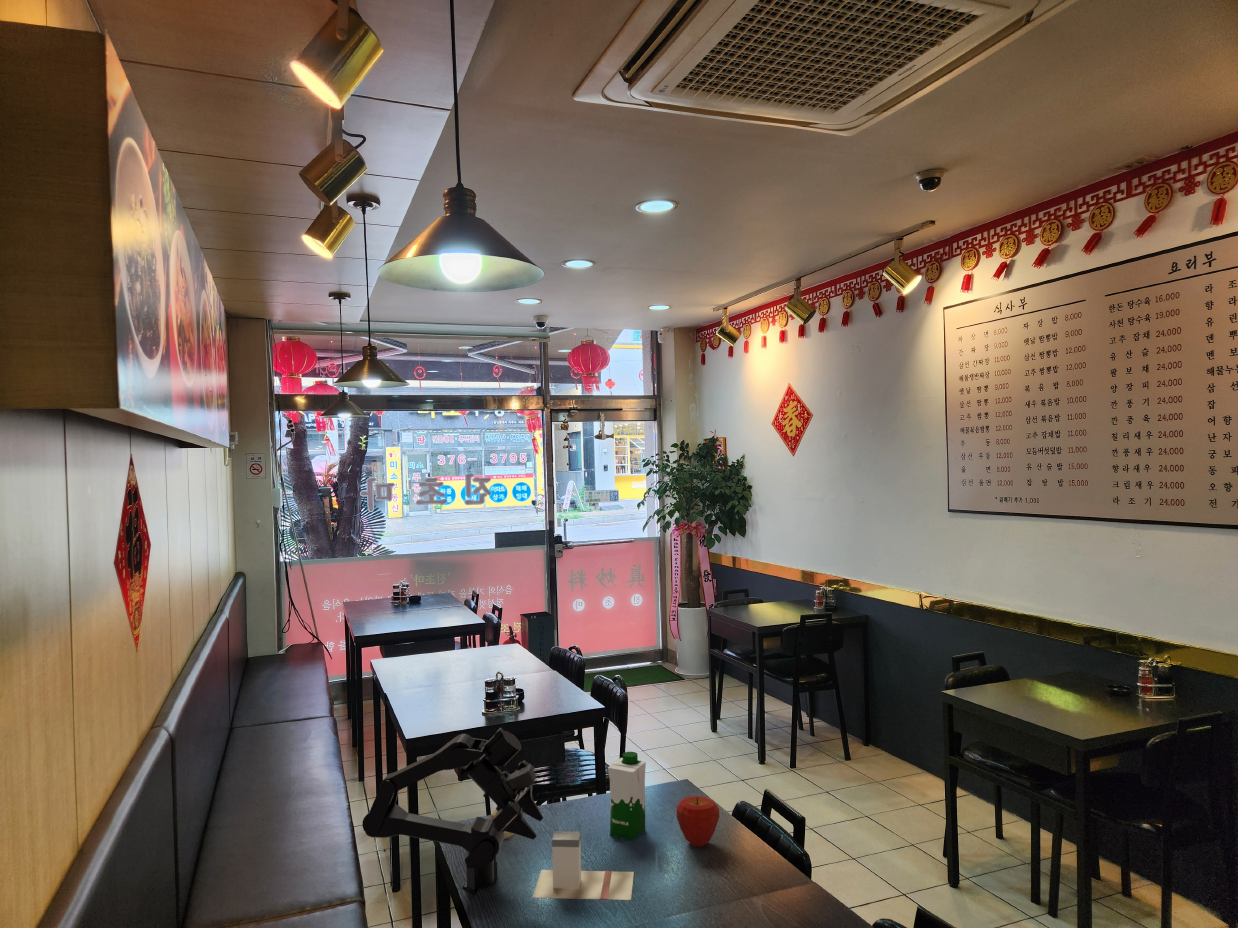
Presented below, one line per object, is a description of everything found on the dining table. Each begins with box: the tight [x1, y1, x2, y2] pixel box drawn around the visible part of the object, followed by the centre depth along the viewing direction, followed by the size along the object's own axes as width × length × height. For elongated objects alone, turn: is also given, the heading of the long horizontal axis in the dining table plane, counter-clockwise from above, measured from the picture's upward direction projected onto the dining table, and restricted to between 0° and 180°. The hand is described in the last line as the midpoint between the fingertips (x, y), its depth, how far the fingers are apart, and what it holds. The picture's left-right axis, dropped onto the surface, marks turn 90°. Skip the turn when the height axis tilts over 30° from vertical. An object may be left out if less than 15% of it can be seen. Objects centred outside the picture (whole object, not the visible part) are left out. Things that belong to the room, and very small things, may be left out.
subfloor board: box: [532, 869, 635, 901], centre depth 177 cm, size 22×12×1 cm, turn 86°
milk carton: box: [607, 751, 647, 842], centre depth 205 cm, size 9×9×20 cm
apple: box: [676, 795, 720, 848], centre depth 198 cm, size 11×11×12 cm
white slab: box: [551, 830, 582, 889], centre depth 177 cm, size 6×4×11 cm
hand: (538, 828), depth 178 cm, fingers open, 9 cm apart
